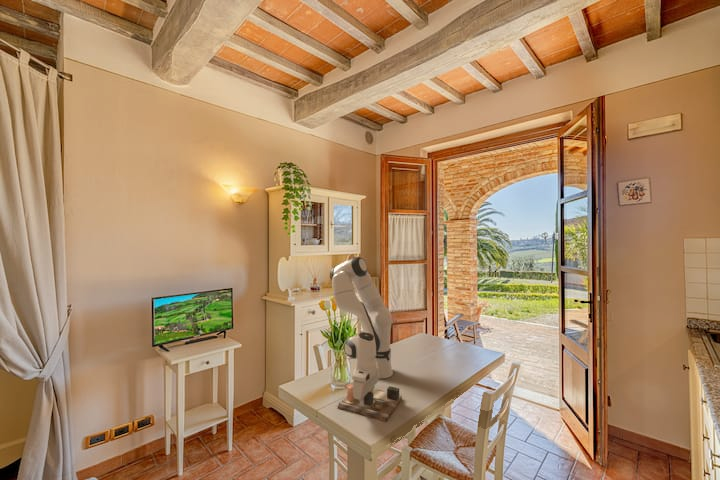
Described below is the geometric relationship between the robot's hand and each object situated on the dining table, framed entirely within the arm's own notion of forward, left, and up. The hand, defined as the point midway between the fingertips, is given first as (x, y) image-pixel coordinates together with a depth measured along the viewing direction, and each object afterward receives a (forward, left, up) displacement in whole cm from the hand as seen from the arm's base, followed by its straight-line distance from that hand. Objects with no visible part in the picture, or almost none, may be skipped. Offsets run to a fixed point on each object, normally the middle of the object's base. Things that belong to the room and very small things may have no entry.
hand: (366, 399), depth 141 cm
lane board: (0, +4, -4) cm, 5 cm away
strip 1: (-4, 0, -2) cm, 5 cm away
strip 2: (+5, +9, -2) cm, 11 cm away
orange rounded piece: (-7, 0, -1) cm, 8 cm away
